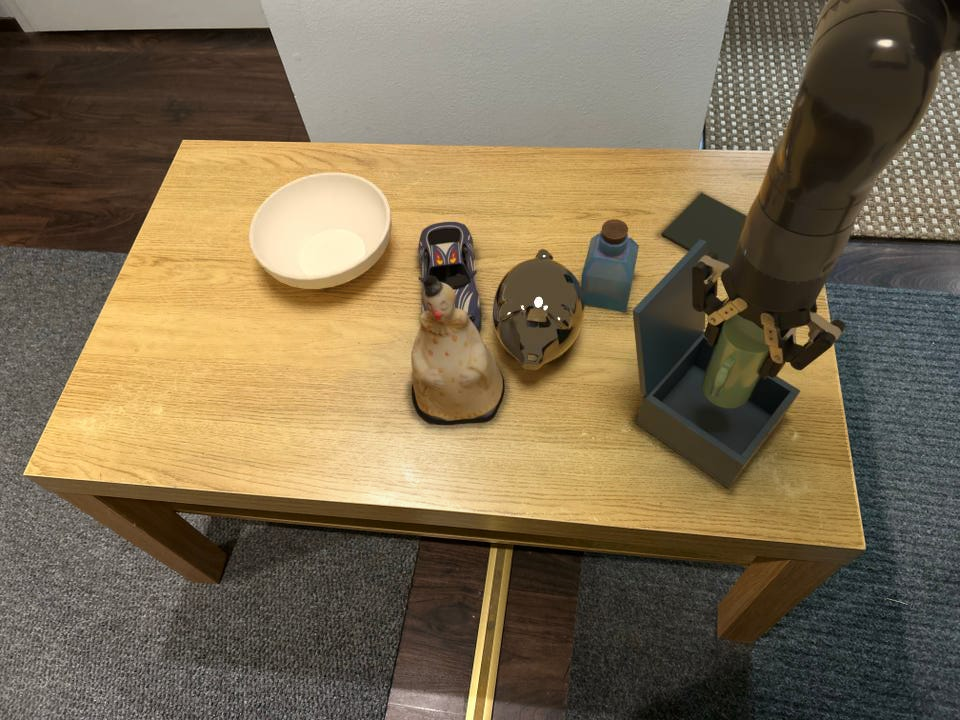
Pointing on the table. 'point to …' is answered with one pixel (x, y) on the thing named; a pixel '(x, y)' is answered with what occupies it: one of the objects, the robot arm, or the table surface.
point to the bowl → (321, 230)
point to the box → (712, 416)
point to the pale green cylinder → (735, 363)
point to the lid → (667, 321)
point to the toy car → (451, 264)
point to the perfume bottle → (609, 267)
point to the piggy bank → (538, 310)
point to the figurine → (452, 364)
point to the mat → (708, 227)
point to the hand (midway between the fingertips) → (740, 355)
